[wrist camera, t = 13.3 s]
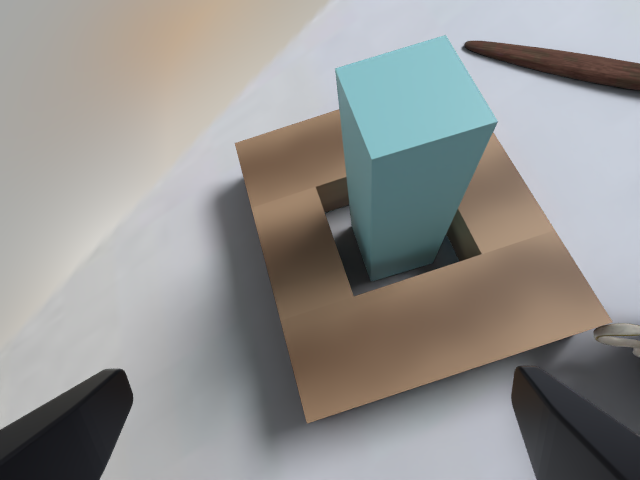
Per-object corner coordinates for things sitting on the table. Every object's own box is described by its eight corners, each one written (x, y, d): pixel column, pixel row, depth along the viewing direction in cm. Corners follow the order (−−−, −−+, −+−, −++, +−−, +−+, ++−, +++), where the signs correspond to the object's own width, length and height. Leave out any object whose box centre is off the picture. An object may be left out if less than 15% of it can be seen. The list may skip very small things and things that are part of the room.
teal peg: (432, 263, 23) (497, 121, 11) (370, 281, 23) (371, 159, 12) (409, 208, 25) (445, 35, 13) (351, 225, 25) (335, 68, 13)
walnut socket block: (575, 334, 21) (612, 322, 18) (316, 419, 21) (306, 423, 18) (445, 109, 28) (454, 71, 25) (250, 173, 28) (234, 143, 24)
